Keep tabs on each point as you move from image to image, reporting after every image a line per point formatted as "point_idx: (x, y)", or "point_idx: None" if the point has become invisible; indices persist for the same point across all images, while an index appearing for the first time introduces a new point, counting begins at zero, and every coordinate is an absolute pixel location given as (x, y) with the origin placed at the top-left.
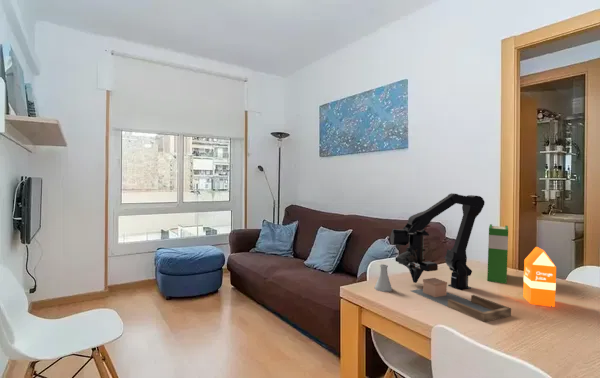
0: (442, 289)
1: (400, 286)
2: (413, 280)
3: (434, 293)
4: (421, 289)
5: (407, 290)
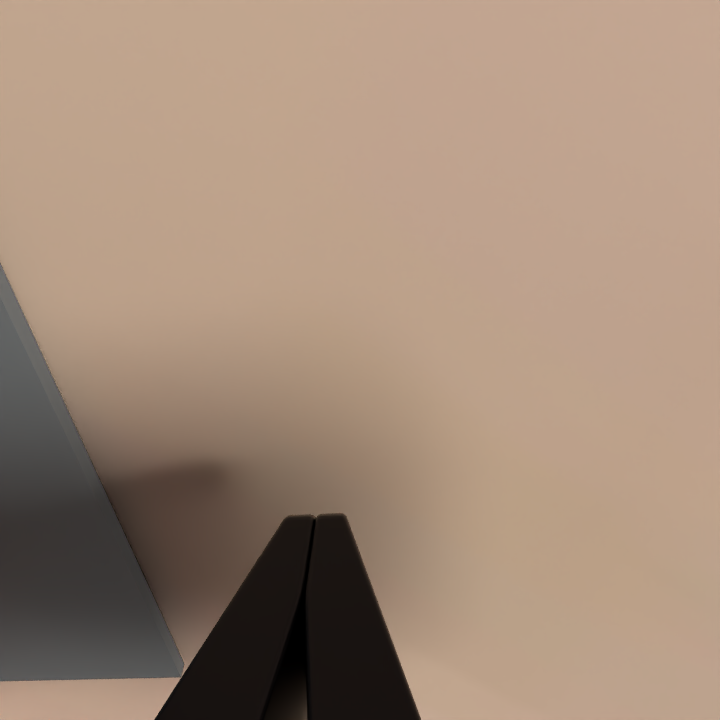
0: None
1: (504, 74)
2: (319, 556)
3: None
4: (27, 432)
5: (21, 16)
